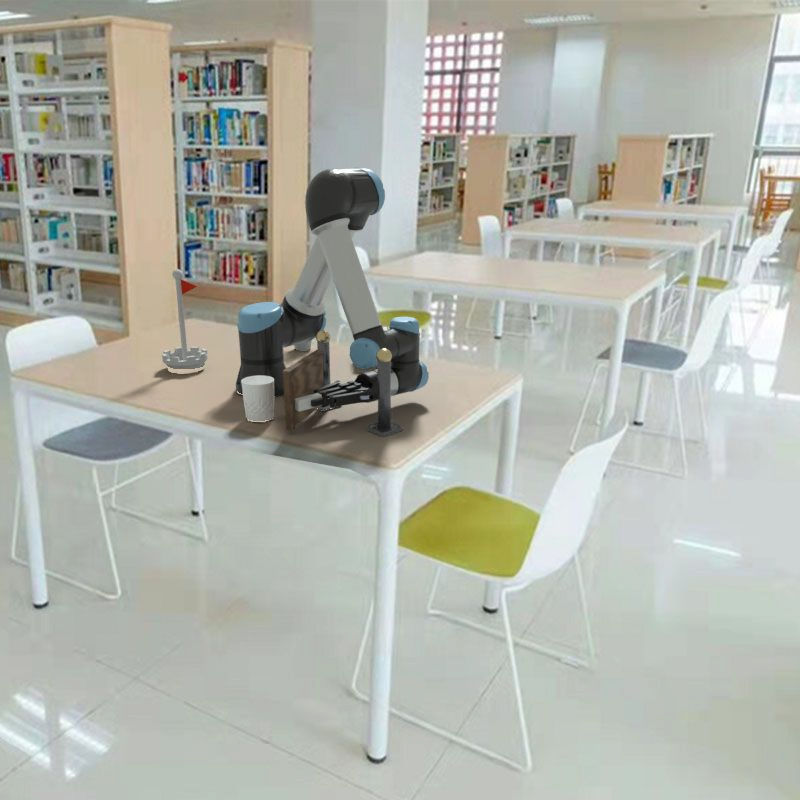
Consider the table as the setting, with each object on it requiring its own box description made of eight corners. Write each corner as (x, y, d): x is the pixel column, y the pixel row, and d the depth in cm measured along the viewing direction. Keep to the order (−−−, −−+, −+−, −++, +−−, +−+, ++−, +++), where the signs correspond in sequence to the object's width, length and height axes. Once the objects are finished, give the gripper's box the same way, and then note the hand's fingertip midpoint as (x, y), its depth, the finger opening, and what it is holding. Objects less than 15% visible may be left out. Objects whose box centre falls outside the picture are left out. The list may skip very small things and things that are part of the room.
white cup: (275, 423, 186) (272, 384, 183) (242, 424, 185) (239, 385, 182) (277, 413, 193) (275, 375, 190) (245, 413, 193) (243, 375, 190)
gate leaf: (318, 404, 197) (317, 349, 192) (325, 404, 196) (323, 350, 191) (285, 430, 179) (282, 370, 174) (292, 431, 178) (289, 371, 174)
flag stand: (160, 376, 224) (150, 273, 214) (166, 364, 236) (157, 266, 227) (206, 374, 226) (198, 272, 216) (210, 362, 238) (202, 265, 228)
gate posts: (309, 405, 199) (306, 330, 192) (327, 400, 202) (325, 326, 196) (382, 436, 177) (382, 353, 171) (402, 430, 181) (402, 348, 175)
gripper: (392, 405, 189) (313, 428, 174) (359, 393, 198) (281, 413, 183) (392, 376, 186) (312, 396, 171) (359, 365, 196) (280, 383, 181)
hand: (296, 405), depth 177 cm, fingers closed
